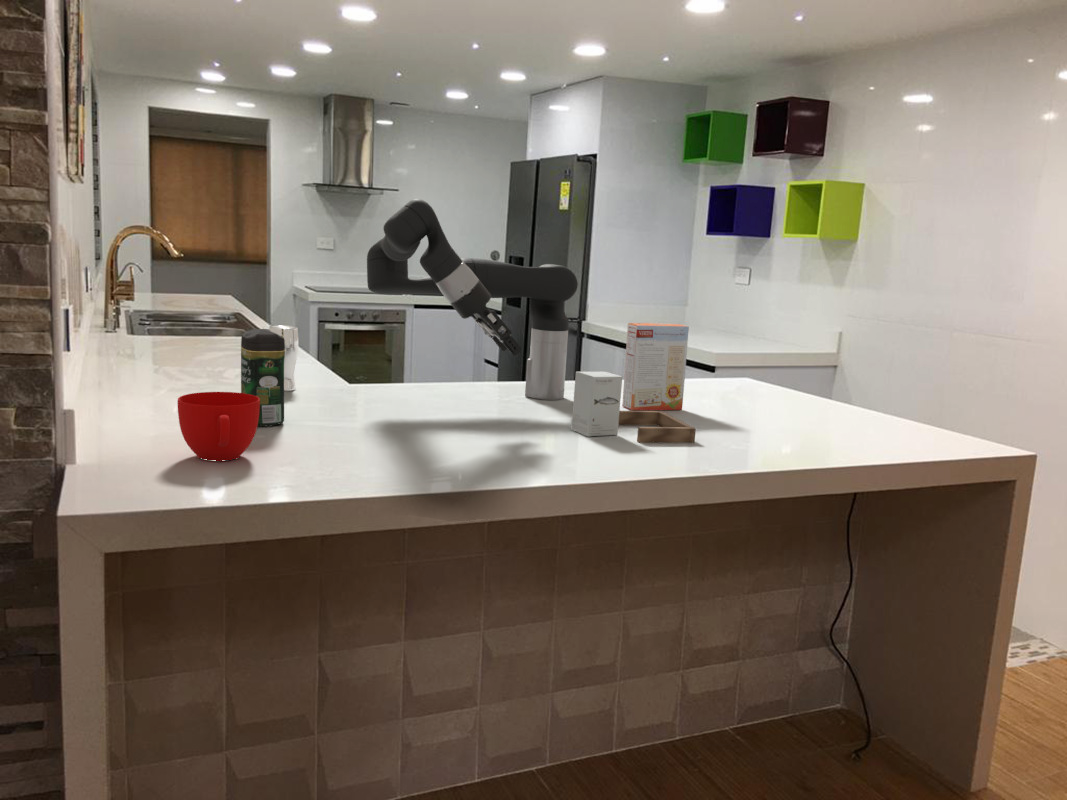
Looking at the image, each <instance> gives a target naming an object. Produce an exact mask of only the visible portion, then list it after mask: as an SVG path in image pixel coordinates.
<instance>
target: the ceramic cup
mask: <svg viewBox="0 0 1067 800" xmlns="http://www.w3.org/2000/svg"><path fill="white" fill-rule="evenodd" d="M259 410H260V399H259V398H258V397H257V396H254V395H250V394H245V393H241V392H237V391H235V392H234V391H232V392H231V391H203V392H195V393H194V392H193V393H188V394H183V395H181V396H179V397H178V398H177V413H178V423H179V427H180V432H181V434H182V437H183V439H184V441H185V444H187V446H188V448H189V449H190V450H191V451H192V452H193V453H194V454H195V455H196V456H197V458H198V457H199V458H202V459H207V460H216V461H222V460H231V461H233V460H232V459H235V460H237V459H236V458H238V459H240V457H241V455H242V454H243V453H245V451H246V450H247V449H248V448H249V446H250V445H251V443H252V442H253V440H254V438H255V436H256V433H257V429H258V420H259ZM199 458H198V459H199ZM222 462H223V461H222Z"/></svg>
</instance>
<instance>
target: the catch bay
mask: <svg viewBox="0 0 1067 800" xmlns="http://www.w3.org/2000/svg"><path fill="white" fill-rule="evenodd" d="M618 426H638V427H637V439H636V442H638V443H640V444H642V443H643V444H644V443H645V444H646V443H650V444H651V443H660V444H661V443H663V444H664V443H665V444H666V443H667V444H668V443H670V444H672V443H673V444H678V443H679V444H685V443H686V444H690V443H691V444H692V443H693V444H695V439H696V430H697V428H696V427H694V426H691V425H689V424H688V423H686V422H684V421H682V420H680V419H678V418H676V417H674V416H672V415H670V414H669V413H666V412H665V411H663V410H637V411H632V410H620V411H619V423H618Z"/></svg>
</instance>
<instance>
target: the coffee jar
mask: <svg viewBox="0 0 1067 800" xmlns="http://www.w3.org/2000/svg"><path fill="white" fill-rule="evenodd" d="M240 340H241V341H240V393H245V394H250V395H254V396H257V397H258V398H259V399H260V410H259V420H258V426H260V427H264V428H266V427H274V426H276V425H282V424H283V423H284V422H285V391H284V358H285V340H284V338H283V337H282V336H280V335H278V334H276V333H274V332H272V331H270V330H269V328H268V329H267V328H249V329H248V330H246V331H245V332H243V333H242V334H241V339H240ZM258 426H257V427H258Z"/></svg>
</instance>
